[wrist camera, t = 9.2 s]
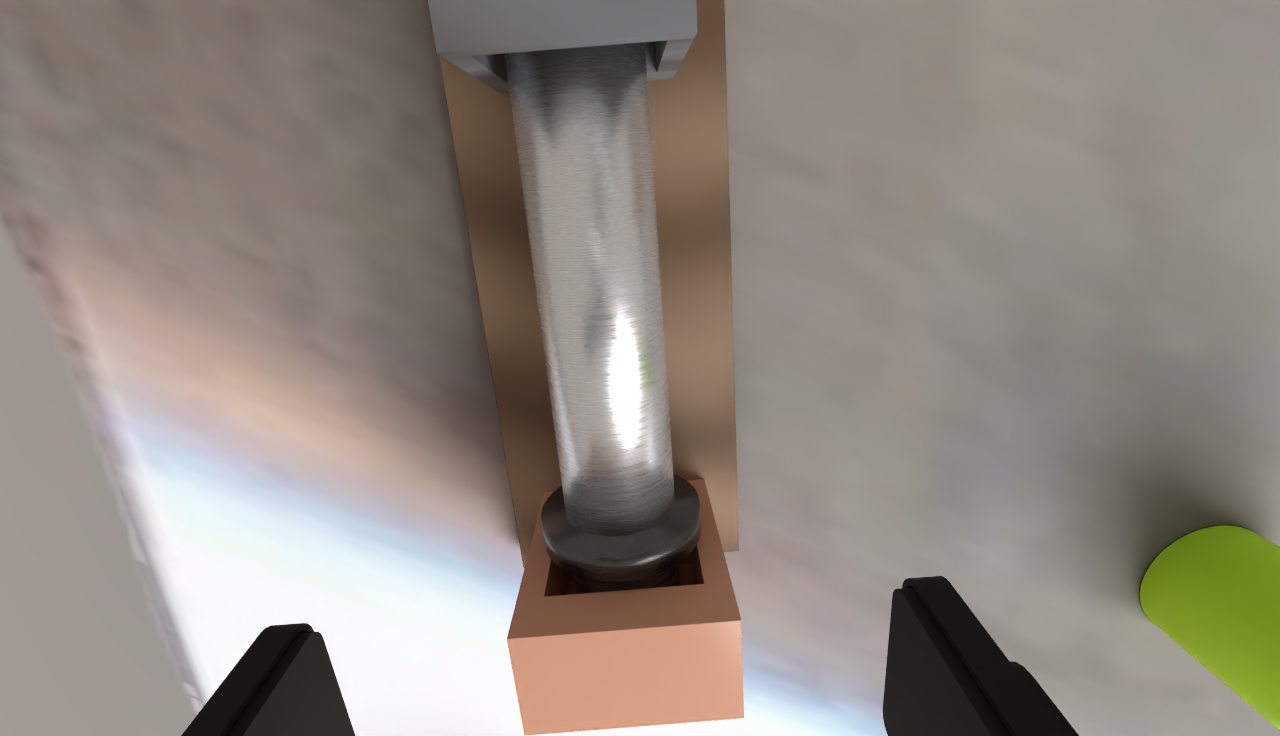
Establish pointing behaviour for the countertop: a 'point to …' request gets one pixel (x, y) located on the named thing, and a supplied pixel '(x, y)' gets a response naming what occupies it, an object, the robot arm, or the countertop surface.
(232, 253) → the countertop surface
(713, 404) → the stand
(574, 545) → the steel tube
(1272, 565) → the soap dispenser
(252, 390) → the countertop surface
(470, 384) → the countertop surface
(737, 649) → the socket block
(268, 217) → the countertop surface
